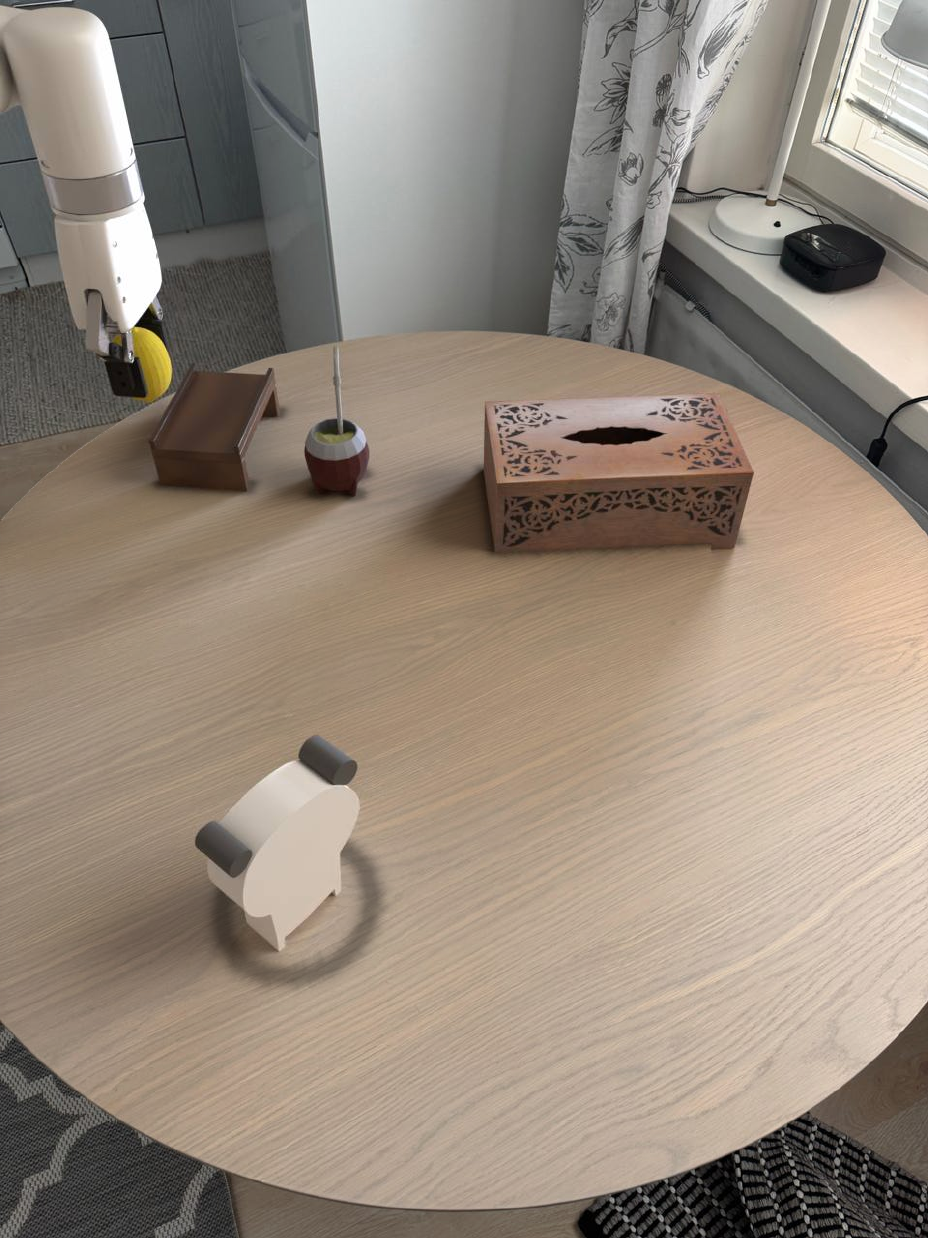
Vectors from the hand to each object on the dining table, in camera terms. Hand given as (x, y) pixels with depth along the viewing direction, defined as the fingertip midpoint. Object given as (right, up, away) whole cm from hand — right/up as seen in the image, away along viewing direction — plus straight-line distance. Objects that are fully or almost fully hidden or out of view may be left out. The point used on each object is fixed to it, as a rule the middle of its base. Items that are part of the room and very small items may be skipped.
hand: (142, 375), depth 95 cm
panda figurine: (+18, -46, -17) cm, 52 cm away
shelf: (+2, -3, +24) cm, 24 cm away
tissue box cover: (+46, -11, +16) cm, 50 cm away
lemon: (0, -2, +2) cm, 3 cm away
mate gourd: (+16, -8, +19) cm, 27 cm away
